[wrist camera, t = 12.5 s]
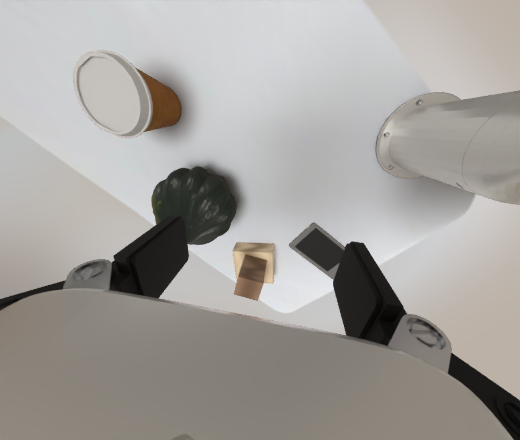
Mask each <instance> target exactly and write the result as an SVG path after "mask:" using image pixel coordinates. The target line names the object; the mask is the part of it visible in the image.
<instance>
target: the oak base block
mask: <svg viewBox="0 0 520 440" xmlns="http://www.w3.org/2000/svg"><path fill="white" fill-rule="evenodd" d="M245 254H246V255H250V256H254V257H257V258H261V259H265V260H267V263H266V269H265V276H264V283H272V284H273V282H274V244H268V243H238V242H237V243H236V245H235V247H234V249H233V257H234V264H235V272H236V279H238V275H239V272H240V269H241V266H242V263H243V260H244V257H245Z"/></svg>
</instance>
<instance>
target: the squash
mask: <svg viewBox="0 0 520 440" xmlns="http://www.w3.org/2000/svg"><path fill="white" fill-rule="evenodd" d="M236 206H237V205H236V201H235V199H234V197H233V196H232V195H231V194H230V193H229V189H228V184H227V182H226V180H225V178H224V177H221V176H216V175H211V176H210V175H209V173H208V171H207V170H206V169H204V168H202V167H199V166H197V167H194V168H193V169H191V170H189V169H187V168H180V169H178V170H175V171H173V172H172V173H170V175H169V176H168V177H167V179H165V180H163V181H161V182H159V183H158V184H157V186H156V187H155V189H154V192H153V195H152V208H153V213H154V215H155V220H156V224H158V223H160V222H161V221H162V220H164V219H165V218H166V217H168V216H169V215H176V216H181V217H182V219H184V221H185V228H186V237H187V244H195V245H203V244H206V243H209V242H211V241H213V240H214V239H216V238H217V237H218V236H221V235H223V234H224V233H226V232H227V231H228V230H229V228H230V225H231V221H232V220H233V218H234V216H235V213H236Z"/></svg>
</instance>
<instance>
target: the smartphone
mask: <svg viewBox="0 0 520 440" xmlns="http://www.w3.org/2000/svg"><path fill="white" fill-rule="evenodd" d="M289 246H290V247H291V248H292V249H293V250H295V251H296V252H297V253H298V254H300V255H301V256H302V257H304V258H305V259H307V260H308V261H309V262H311V263H312V264H313V265H314V266H316V267H317V268H318V269H320V270H321V271H322V272H324V273H325V274H326V275H328V276H329V277H330V278H332V279H334V277H335V275H336V272H337V269H338V266H339V264H340V261H341V258H342V255H343V252H344V250H345V247H344V246H343V245H342V244H340V243H339V242H338V241H337V240H335V239H334V238H333V237H332V236H331V235H329V234H328V233H327V232H326V231H324V230H323V229H322V228H321V227H319V226H318V225H317V224H316V223H312V224H311V225H309V226H308V227H307V228H306V229H305V230H304V231H303V232H302V233H301V234H300V235H299V236H298V237H297V238H295V239H294V240H293V241H292V242H291V243H290V244H289Z"/></svg>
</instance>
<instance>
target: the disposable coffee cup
mask: <svg viewBox="0 0 520 440" xmlns="http://www.w3.org/2000/svg"><path fill="white" fill-rule="evenodd" d="M73 82H74V88H75V92H76V95H77V99H78V101H79V103H80V105H81V107H82V109H83V110H84V112H85V113H86V115H87V116H88V117H89V118H90V119H91V120H92V121H93V122H94V123H95V124H96V125H97V126H98V127H100V128H101V129H103V130H104V131H107V132H109V133H111V134H113V135H115V136H118V137H122V138H133V137H137V136H139V135H140V134H142V133H143V132H146V131H150V130H154V129H159V128H163V127H167V126H172V125H174V124H176V123H177V122H178V120H179V118H180V115H181V105H180V102H179V99H178V97H177V95H176V94H175V93H174V92H173V91H172V90H171V89H170V88H168V87H167V86H165V85H163V84H162V83H160V82H158V81H157V80H155V79H153V78H152V77H150V76H148V75H147V74H145V73H143V72H142V71H140V70H138V69H137V68H135V67H134V66H133V65H132V64H131V63H130V62H129V61H128V60H126V59H125V58H124V57H122V56H121V55H119V54H117V53H114V52H112V51H108V50H98V51H95V52H88V53H86V54H84V55H83V56H81V57H80V58H79V60H78V61H77V63H76V65H75V68H74V76H73Z"/></svg>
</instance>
